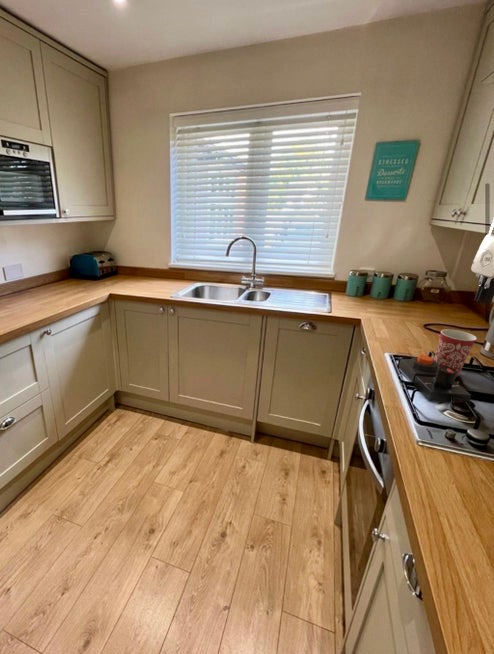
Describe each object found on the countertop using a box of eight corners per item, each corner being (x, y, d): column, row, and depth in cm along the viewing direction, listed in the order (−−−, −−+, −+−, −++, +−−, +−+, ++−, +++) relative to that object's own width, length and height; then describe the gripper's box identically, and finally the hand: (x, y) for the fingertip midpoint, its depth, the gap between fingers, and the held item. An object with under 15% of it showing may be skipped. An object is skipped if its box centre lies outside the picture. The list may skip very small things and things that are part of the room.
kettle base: (427, 369, 110) (431, 355, 108) (444, 384, 101) (449, 370, 99) (398, 367, 111) (402, 353, 110) (412, 382, 102) (417, 367, 100)
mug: (466, 381, 103) (481, 342, 98) (431, 375, 106) (444, 336, 101) (455, 364, 113) (468, 328, 108) (424, 359, 117) (435, 324, 112)
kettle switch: (428, 360, 106) (429, 355, 105) (434, 366, 102) (436, 361, 102) (414, 359, 107) (416, 354, 106) (420, 365, 103) (422, 360, 102)
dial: (429, 380, 97) (435, 364, 95) (446, 381, 97) (452, 365, 95) (437, 388, 93) (443, 371, 91) (455, 389, 93) (461, 373, 91)
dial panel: (448, 387, 100) (452, 378, 98) (467, 404, 91) (471, 394, 90) (413, 384, 101) (415, 375, 100) (428, 400, 93) (431, 391, 92)
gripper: (472, 227, 89) (450, 293, 96) (514, 233, 75) (485, 309, 82) (504, 228, 88) (479, 295, 95) (552, 234, 74) (519, 311, 81)
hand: (482, 301), depth 89 cm, fingers closed
